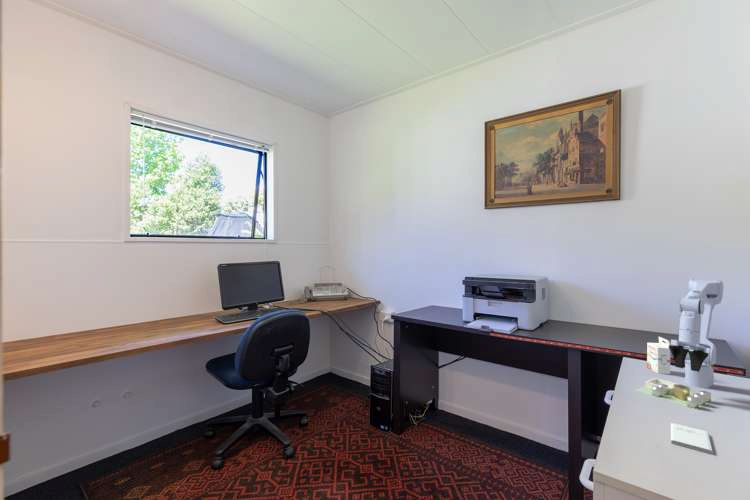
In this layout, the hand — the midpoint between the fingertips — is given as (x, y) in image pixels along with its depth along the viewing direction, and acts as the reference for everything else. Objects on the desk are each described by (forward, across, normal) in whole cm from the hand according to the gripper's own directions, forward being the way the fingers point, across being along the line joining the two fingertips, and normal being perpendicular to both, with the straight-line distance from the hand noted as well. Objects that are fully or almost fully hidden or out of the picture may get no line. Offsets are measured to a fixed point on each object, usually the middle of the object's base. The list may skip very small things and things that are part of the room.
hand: (687, 369), depth 126 cm
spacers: (+10, -3, 0) cm, 11 cm away
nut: (+10, -2, 0) cm, 10 cm away
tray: (+8, 0, +8) cm, 12 cm away
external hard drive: (+20, -26, -19) cm, 38 cm away
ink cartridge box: (+4, +18, +23) cm, 29 cm away
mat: (+10, -1, +2) cm, 11 cm away
